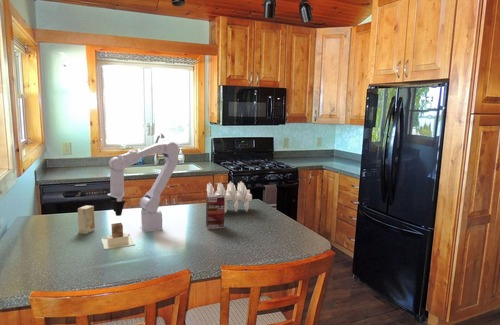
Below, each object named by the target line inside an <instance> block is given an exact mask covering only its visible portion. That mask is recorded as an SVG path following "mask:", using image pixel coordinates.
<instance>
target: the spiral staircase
mask: <svg viewBox="0 0 500 325" xmlns="http://www.w3.org/2000/svg"><path fill="white" fill-rule="evenodd" d="M236 187H237V188H236ZM216 189H217V190H216V191H215V189H214V186H213V184H212V183H211V181H209V182H208V183H207V184H206V193H207V195H206V196H214V195H223V196H224V197H225V209H224V214H227V212H228V202H230V201H231V202H233V204H234V212H236V213H237V212H238V210H239V201H241V202H243V206H244V211H245V212H246V213H247V212H248V211H249V205H250V202H251V201H252V200H253V195H252V193H251V189H247V187H246V185H245V183H244V182H243V181H242V180H241V181H239V182H237V186H235V184H234V182H232V180H230V181H229V182H228V183H227V187H226V188H225V187H224V184H222V182H221V181H220V182H218V183H217V187H216Z"/></svg>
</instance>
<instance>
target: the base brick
mask: <svg viewBox="0 0 500 325" xmlns="http://www.w3.org/2000/svg"><path fill="white" fill-rule="evenodd" d="M128 234H129V233H127V232H126V233H124V232H123V237H118V238H113V237H112V234H110V235H109V234H108V235H107V236H106V237H107V240H108V245H109V246H110V245H117V244H123V243H129V239H128Z"/></svg>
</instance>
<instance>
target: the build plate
mask: <svg viewBox="0 0 500 325" xmlns="http://www.w3.org/2000/svg"><path fill="white" fill-rule="evenodd" d="M127 234H128V239H129V243H123V244H117V245H110V246H109V245H108V240H107V236H105V237H100V239H101V242H102V245H103V249H104V251H108V250H113V249H120V248H127V247H133V246H136V244H135V243H134V240H133V238H132V237H131V234H130V233H127Z"/></svg>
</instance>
